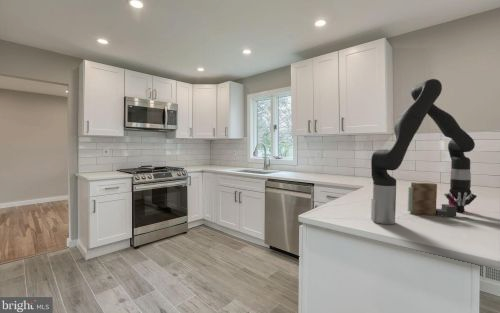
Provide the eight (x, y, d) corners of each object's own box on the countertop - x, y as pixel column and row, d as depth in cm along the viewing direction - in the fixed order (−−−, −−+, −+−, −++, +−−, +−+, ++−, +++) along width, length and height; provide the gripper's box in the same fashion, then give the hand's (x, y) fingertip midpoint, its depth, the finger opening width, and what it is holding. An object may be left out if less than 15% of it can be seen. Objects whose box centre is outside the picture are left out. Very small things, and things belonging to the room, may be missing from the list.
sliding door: (408, 211, 124) (409, 187, 124) (407, 210, 125) (408, 186, 125) (435, 212, 121) (436, 188, 120) (434, 212, 122) (435, 188, 122)
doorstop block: (437, 216, 119) (437, 206, 119) (432, 213, 124) (432, 203, 124) (456, 217, 117) (456, 207, 117) (450, 214, 122) (450, 204, 122)
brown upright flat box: (413, 214, 123) (414, 183, 122) (410, 212, 126) (411, 182, 125) (435, 215, 120) (437, 184, 119) (432, 213, 123) (433, 183, 123)
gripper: (471, 177, 120) (470, 211, 121) (440, 177, 123) (440, 210, 124) (481, 179, 113) (480, 215, 113) (448, 179, 116) (448, 214, 117)
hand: (459, 212), depth 119 cm, fingers closed
